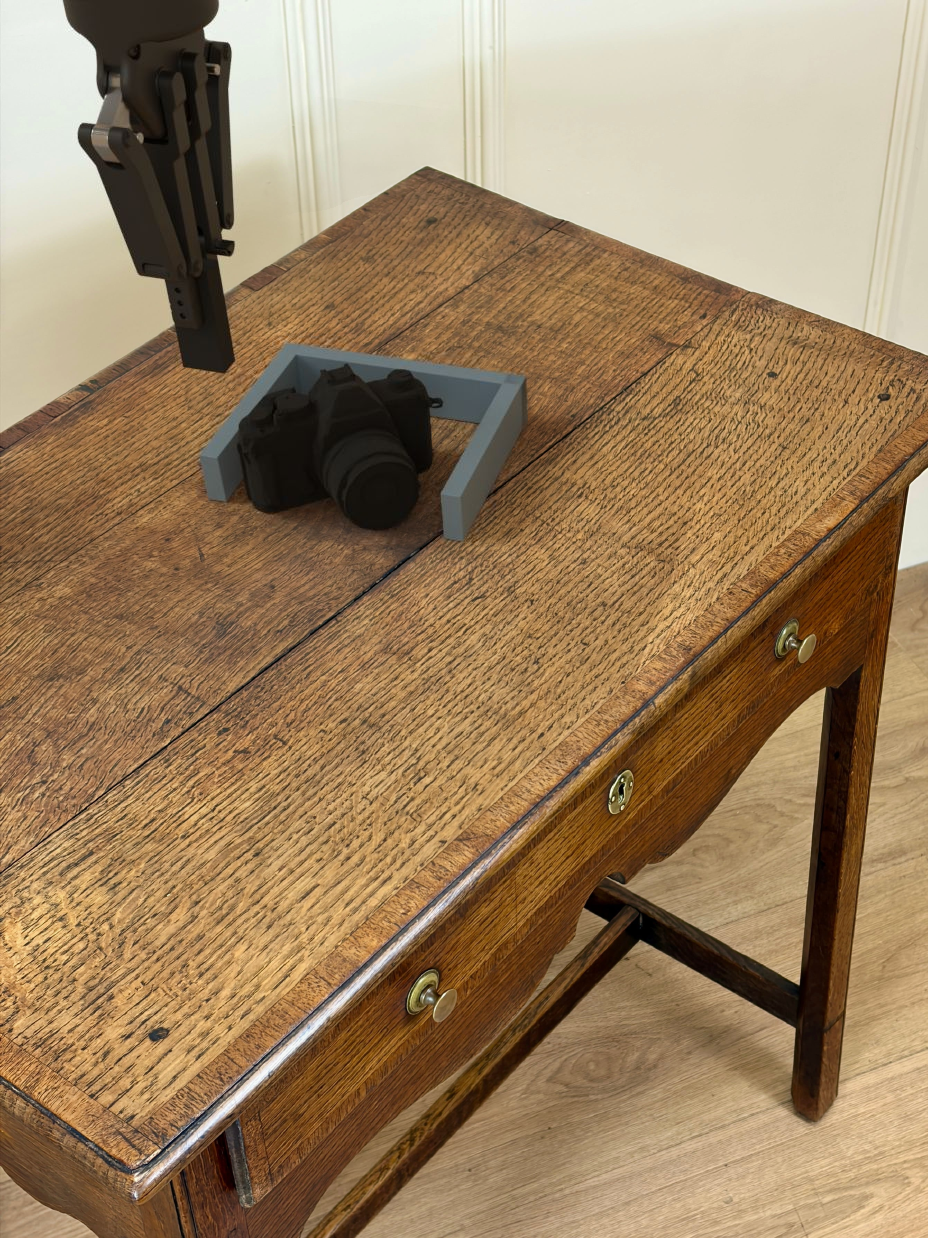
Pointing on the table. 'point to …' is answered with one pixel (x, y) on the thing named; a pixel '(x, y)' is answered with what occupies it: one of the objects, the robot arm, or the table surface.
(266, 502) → the film camera
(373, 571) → the table surface
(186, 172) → the robot arm
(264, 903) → the table surface
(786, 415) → the table surface
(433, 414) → the u-shaped bracket
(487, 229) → the table surface
